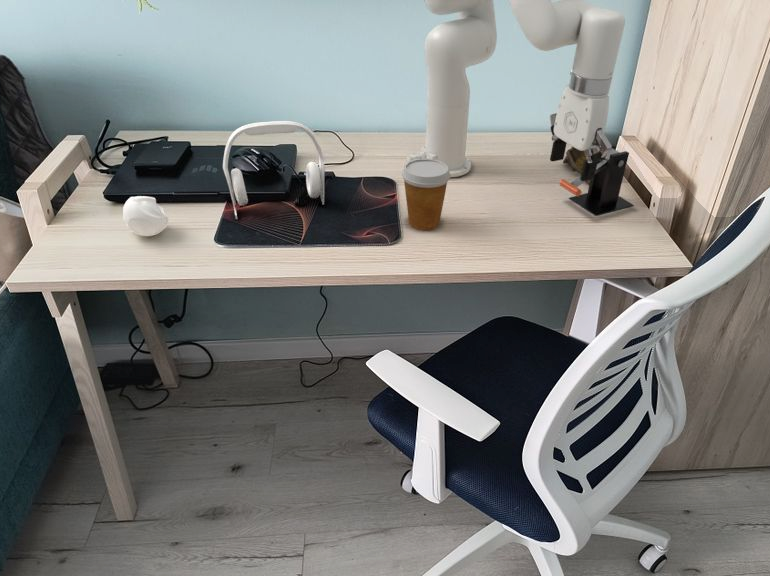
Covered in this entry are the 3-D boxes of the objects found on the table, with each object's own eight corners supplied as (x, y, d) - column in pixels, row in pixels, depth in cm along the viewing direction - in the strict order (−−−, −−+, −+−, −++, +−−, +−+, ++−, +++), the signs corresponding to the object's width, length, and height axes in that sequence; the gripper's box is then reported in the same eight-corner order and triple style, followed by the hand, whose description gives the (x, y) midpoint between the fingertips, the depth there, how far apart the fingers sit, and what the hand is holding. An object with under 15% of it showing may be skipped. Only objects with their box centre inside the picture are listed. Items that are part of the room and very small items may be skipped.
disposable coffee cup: (453, 217, 134) (456, 162, 126) (438, 238, 127) (441, 181, 119) (410, 208, 136) (411, 154, 128) (393, 228, 129) (394, 172, 121)
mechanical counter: (609, 146, 154) (570, 133, 153) (617, 162, 143) (575, 149, 142) (597, 174, 158) (559, 162, 157) (603, 192, 147) (562, 179, 146)
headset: (323, 194, 139) (318, 112, 128) (330, 209, 134) (325, 124, 123) (229, 204, 134) (214, 119, 122) (232, 220, 129) (217, 133, 117)
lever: (577, 199, 132) (575, 190, 130) (560, 188, 135) (558, 179, 134) (626, 164, 133) (624, 154, 131) (608, 154, 137) (606, 145, 135)
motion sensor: (175, 238, 122) (166, 201, 117) (134, 247, 119) (123, 210, 114) (164, 220, 127) (156, 184, 122) (124, 229, 124) (113, 192, 119)
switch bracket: (594, 220, 136) (607, 162, 127) (567, 202, 142) (578, 146, 133) (632, 209, 140) (647, 153, 132) (605, 193, 146) (618, 138, 138)
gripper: (545, 71, 123) (531, 155, 135) (605, 101, 112) (584, 191, 123) (575, 67, 127) (559, 150, 138) (636, 96, 115) (613, 184, 127)
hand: (571, 169), depth 131 cm, fingers open, 9 cm apart
